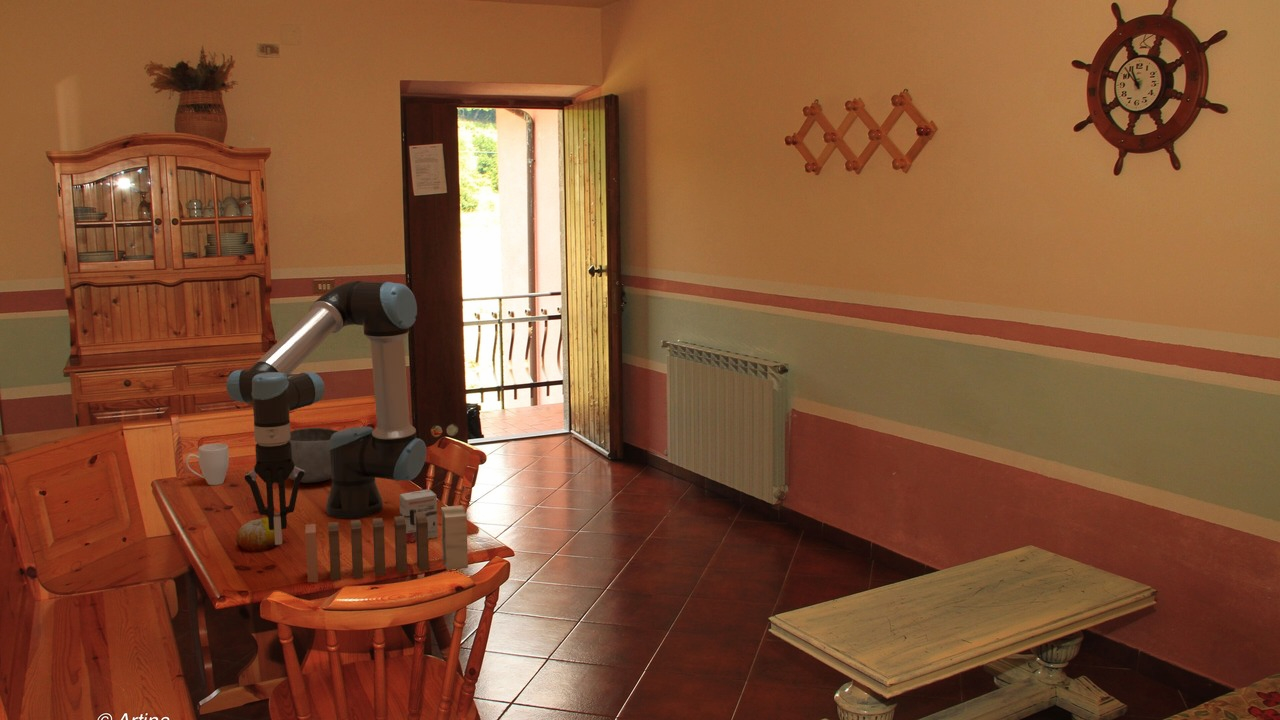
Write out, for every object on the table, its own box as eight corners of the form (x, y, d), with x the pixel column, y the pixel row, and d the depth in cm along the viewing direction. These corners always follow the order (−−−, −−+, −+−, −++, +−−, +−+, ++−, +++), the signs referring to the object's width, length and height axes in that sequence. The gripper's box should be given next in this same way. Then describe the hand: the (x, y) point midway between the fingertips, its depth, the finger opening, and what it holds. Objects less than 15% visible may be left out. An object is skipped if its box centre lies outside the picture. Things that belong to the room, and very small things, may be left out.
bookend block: (442, 558, 242) (441, 507, 240) (463, 555, 244) (462, 505, 241) (446, 570, 235) (445, 517, 232) (467, 567, 236) (466, 515, 234)
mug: (227, 477, 305) (224, 441, 303) (233, 484, 299) (230, 447, 297) (185, 483, 299) (182, 447, 297) (190, 491, 292) (187, 453, 290)
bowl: (336, 491, 293) (334, 442, 290) (267, 490, 293) (264, 441, 291) (356, 471, 313) (354, 425, 311) (292, 470, 313) (290, 424, 311)
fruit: (244, 535, 255) (252, 507, 254) (283, 547, 255) (291, 519, 254) (226, 550, 244) (234, 520, 243) (267, 562, 244) (275, 533, 243)
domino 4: (374, 566, 236) (372, 518, 234) (383, 565, 237) (382, 517, 235) (375, 576, 231) (374, 527, 229) (385, 575, 231) (383, 526, 229)
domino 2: (330, 571, 233) (328, 522, 231) (340, 570, 234) (338, 521, 232) (330, 581, 228) (328, 531, 225) (340, 579, 228) (338, 530, 226)
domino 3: (352, 569, 235) (350, 520, 233) (362, 568, 235) (360, 519, 233) (353, 578, 229) (351, 529, 227) (363, 577, 230) (361, 528, 228)
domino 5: (395, 564, 238) (394, 516, 236) (405, 563, 238) (403, 515, 236) (397, 573, 232) (396, 525, 230) (407, 572, 233) (405, 524, 231)
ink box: (406, 543, 251) (405, 499, 249) (399, 537, 256) (398, 493, 253) (438, 537, 256) (437, 493, 254) (431, 531, 260) (430, 488, 258)
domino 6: (417, 562, 239) (415, 514, 237) (426, 561, 240) (425, 514, 238) (419, 571, 234) (418, 522, 232) (429, 570, 234) (427, 522, 232)
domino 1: (308, 573, 232) (305, 524, 230) (318, 572, 232) (315, 523, 230) (307, 583, 226) (305, 533, 224) (318, 582, 227) (315, 532, 225)
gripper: (240, 448, 216) (247, 551, 220) (303, 444, 220) (308, 545, 224) (243, 439, 223) (249, 539, 227) (304, 436, 227) (309, 534, 231)
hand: (278, 542), depth 225 cm, fingers closed
